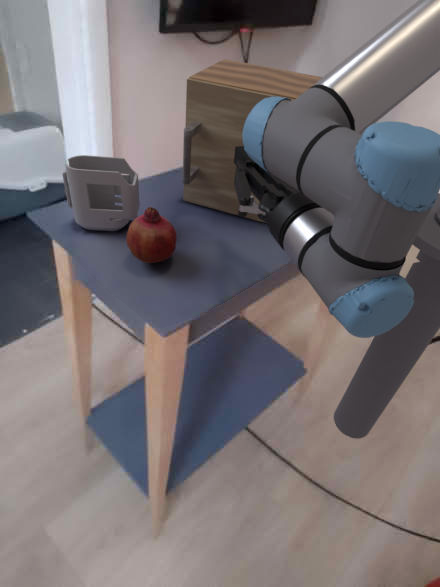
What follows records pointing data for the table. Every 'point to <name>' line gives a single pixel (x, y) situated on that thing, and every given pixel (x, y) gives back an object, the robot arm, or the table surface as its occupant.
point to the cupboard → (257, 78)
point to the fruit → (151, 237)
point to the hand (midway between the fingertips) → (238, 154)
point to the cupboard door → (215, 143)
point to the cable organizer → (101, 191)
